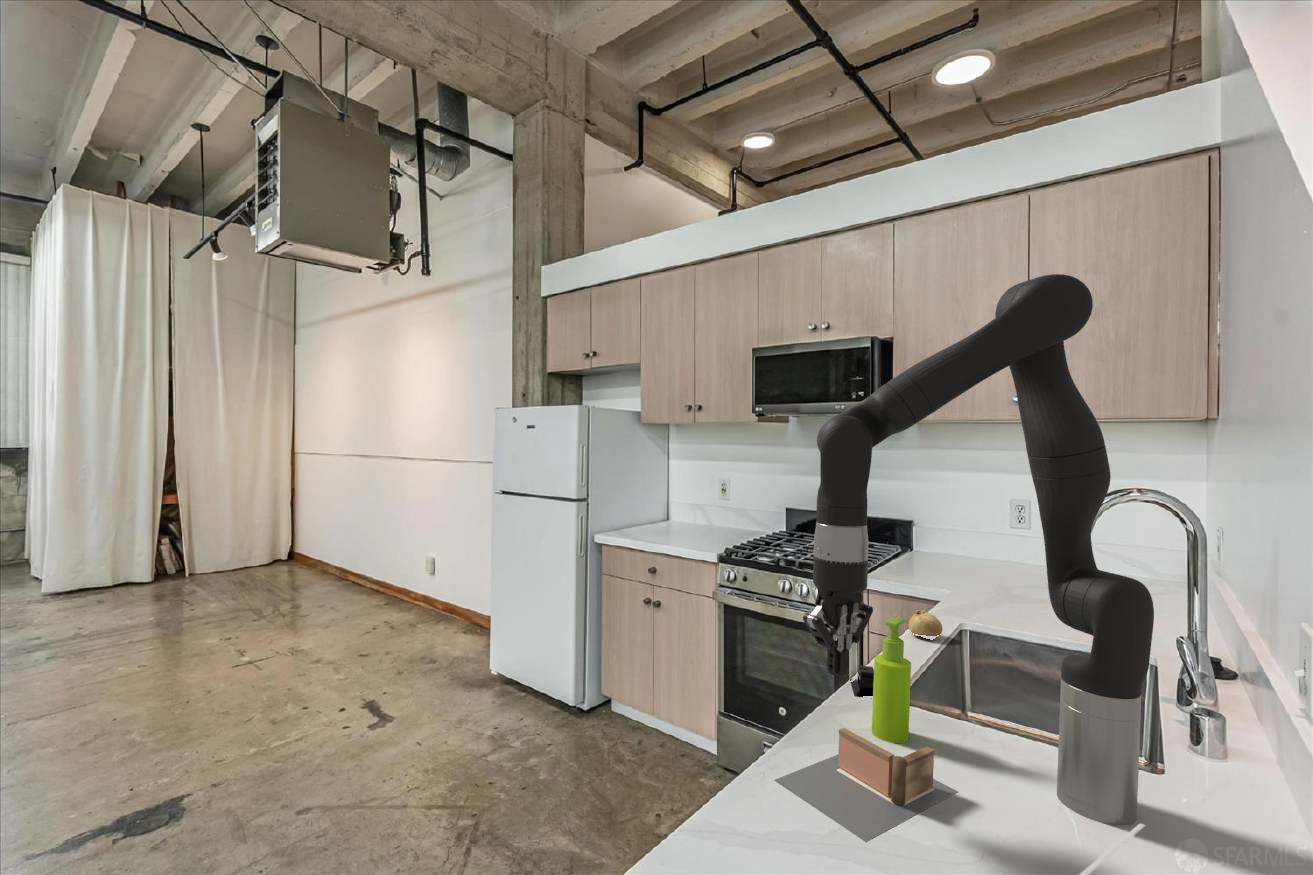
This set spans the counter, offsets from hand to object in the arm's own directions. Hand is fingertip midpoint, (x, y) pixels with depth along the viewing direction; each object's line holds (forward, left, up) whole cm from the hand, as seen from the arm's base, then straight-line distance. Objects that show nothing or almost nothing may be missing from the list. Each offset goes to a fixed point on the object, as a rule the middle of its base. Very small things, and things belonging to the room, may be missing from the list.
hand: (837, 674), depth 89 cm
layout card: (-4, +2, -17) cm, 17 cm away
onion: (-77, -34, -17) cm, 86 cm away
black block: (-35, -21, -18) cm, 44 cm away
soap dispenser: (-22, -6, -17) cm, 28 cm away
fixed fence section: (-8, +7, -16) cm, 20 cm away
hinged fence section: (-5, +1, -16) cm, 17 cm away
